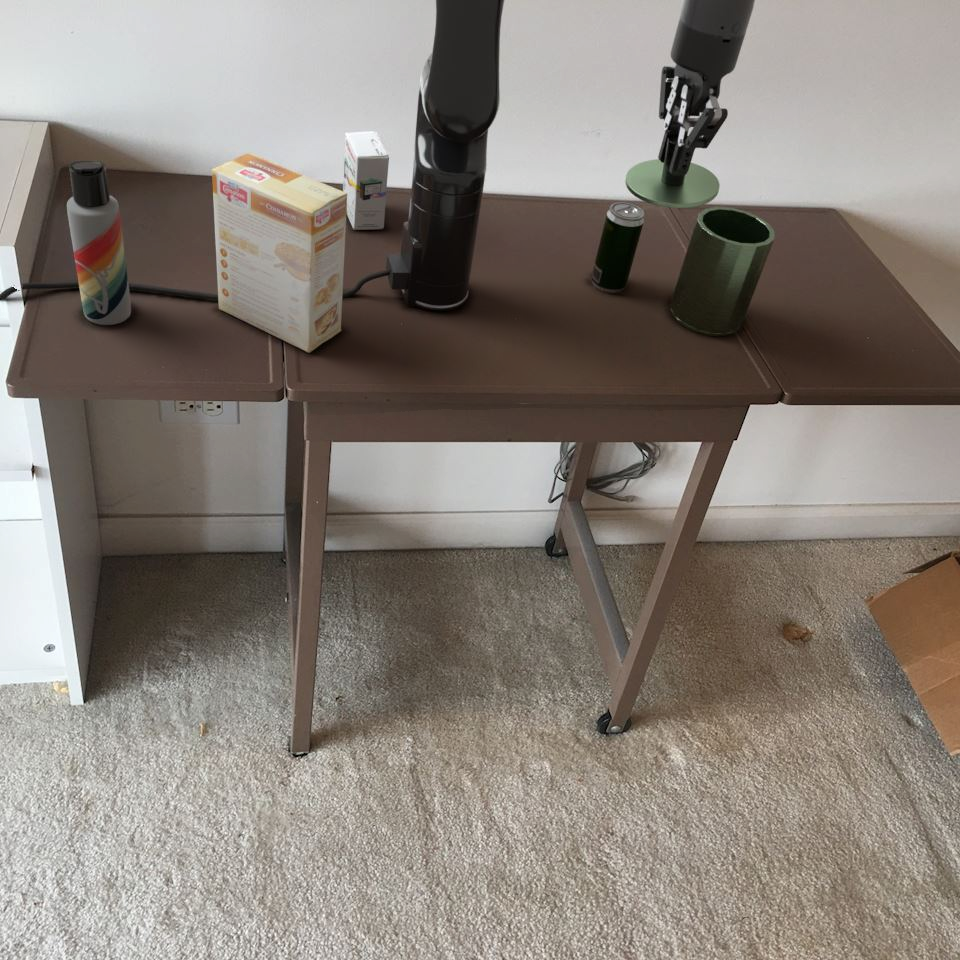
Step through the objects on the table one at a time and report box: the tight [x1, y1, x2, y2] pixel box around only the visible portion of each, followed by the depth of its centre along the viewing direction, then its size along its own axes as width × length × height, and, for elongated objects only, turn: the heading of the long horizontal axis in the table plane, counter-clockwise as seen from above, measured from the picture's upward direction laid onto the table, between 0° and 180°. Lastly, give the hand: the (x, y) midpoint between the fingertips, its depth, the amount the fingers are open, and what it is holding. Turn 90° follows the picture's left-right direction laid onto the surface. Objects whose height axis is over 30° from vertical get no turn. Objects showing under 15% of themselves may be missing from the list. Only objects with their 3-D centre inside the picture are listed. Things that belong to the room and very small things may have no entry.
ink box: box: [342, 130, 390, 231], centre depth 146 cm, size 8×5×12 cm, turn 18°
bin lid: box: [624, 134, 721, 209], centre depth 120 cm, size 12×12×7 cm
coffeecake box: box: [211, 152, 347, 353], centre depth 120 cm, size 15×7×20 cm, turn 59°
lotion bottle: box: [66, 160, 132, 326], centre depth 116 cm, size 6×6×20 cm
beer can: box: [590, 201, 645, 294], centre depth 141 cm, size 5×5×12 cm
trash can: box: [669, 206, 776, 337], centre depth 138 cm, size 11×11×14 cm
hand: (672, 167), depth 120 cm, fingers closed on bin lid, 3 cm apart
